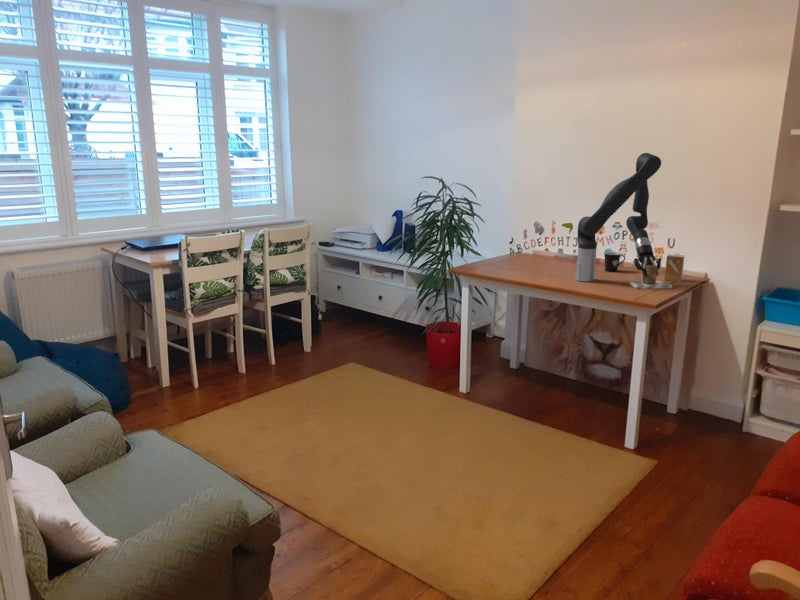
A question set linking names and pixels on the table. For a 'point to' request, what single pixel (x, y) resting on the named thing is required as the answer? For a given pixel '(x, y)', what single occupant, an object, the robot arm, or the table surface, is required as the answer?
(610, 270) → the coffee mug
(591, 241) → the robot arm
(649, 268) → the block
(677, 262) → the small box
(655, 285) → the board
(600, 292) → the table surface
